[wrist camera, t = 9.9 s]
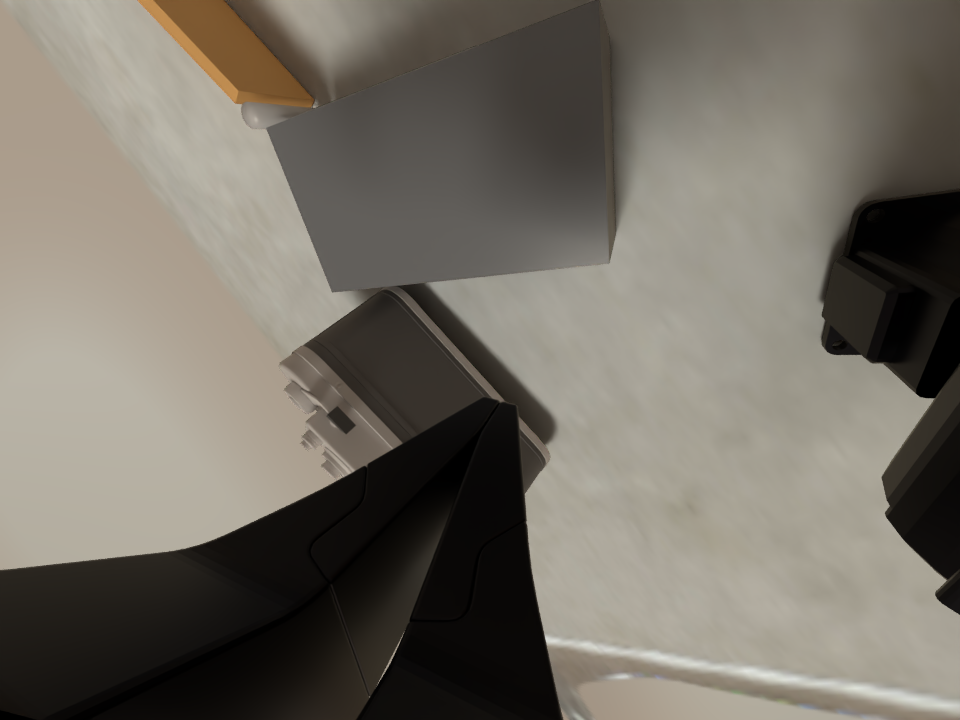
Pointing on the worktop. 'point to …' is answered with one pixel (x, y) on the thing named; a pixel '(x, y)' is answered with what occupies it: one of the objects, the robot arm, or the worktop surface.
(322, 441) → the camera
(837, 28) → the worktop surface
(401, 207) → the case
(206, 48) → the brown rectangular block
